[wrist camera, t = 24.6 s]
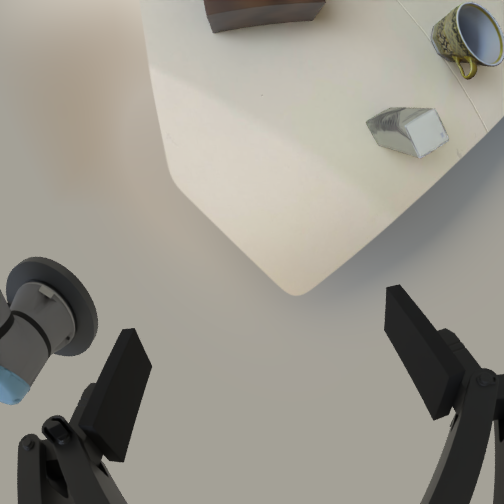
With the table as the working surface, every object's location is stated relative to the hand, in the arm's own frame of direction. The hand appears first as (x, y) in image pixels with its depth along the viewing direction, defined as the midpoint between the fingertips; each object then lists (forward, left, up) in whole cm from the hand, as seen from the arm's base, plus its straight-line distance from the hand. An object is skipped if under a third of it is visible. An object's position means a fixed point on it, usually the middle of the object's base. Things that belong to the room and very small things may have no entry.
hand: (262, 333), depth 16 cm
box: (+21, +7, -32) cm, 39 cm away
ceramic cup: (+35, +20, -32) cm, 51 cm away
